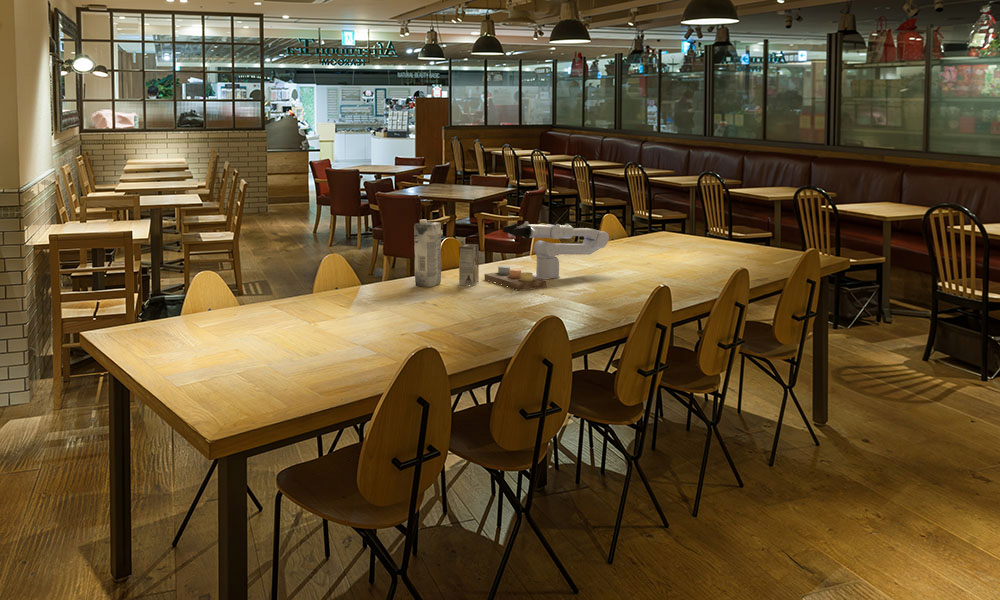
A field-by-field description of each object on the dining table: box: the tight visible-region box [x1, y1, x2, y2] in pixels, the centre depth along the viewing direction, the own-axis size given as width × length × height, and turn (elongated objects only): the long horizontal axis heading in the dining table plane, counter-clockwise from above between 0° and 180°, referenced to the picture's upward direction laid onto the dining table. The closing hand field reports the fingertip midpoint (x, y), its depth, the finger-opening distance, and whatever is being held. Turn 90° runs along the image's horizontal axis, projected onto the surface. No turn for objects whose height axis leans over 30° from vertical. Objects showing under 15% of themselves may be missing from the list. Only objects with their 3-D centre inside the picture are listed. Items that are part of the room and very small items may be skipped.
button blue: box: [497, 265, 511, 276], centre depth 374 cm, size 5×5×3 cm
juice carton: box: [413, 218, 442, 288], centre depth 360 cm, size 9×10×27 cm
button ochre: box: [520, 271, 534, 283], centre depth 360 cm, size 5×5×3 cm
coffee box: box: [458, 243, 480, 287], centre depth 365 cm, size 9×6×16 cm
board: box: [483, 271, 548, 291], centre depth 368 cm, size 14×26×2 cm, turn 32°
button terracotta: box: [509, 268, 522, 279], centre depth 367 cm, size 5×5×3 cm
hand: (508, 230), depth 366 cm, fingers open, 7 cm apart
